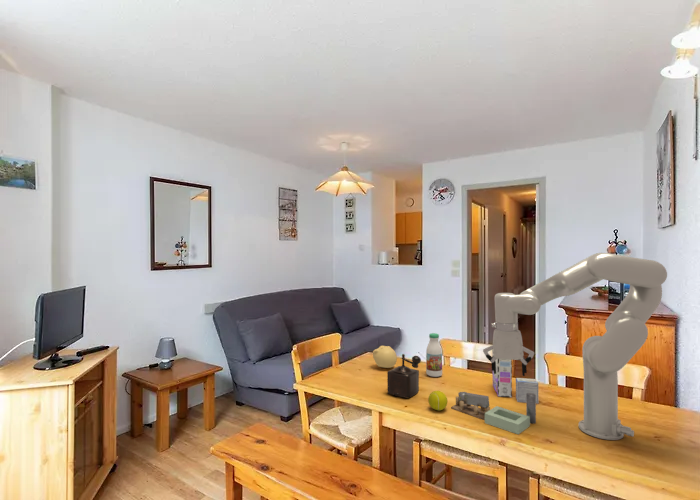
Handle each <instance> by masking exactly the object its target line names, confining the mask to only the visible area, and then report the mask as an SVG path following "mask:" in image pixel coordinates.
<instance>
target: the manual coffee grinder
mask: <svg viewBox="0 0 700 500" xmlns="http://www.w3.org/2000/svg"><path fill="white" fill-rule="evenodd" d="M401 359H402V360H401V361H402V362H401V365H399V366H396V367H394V368H392V369H390V370H388V371H387V372H386V373H387V377H386V378H387V392H386V393H387V394H389V395H393V396H395V397H401V398H407V399H409V398H412V397H413V396H415V395H417V394H418V393H419V391H420V389H419V388H420V387H419V385H420V375H419V374H420V371H419V369H418V368H419V364H421V362H422V359H421V357H420V356H418V355H413V356H412V357H411V360H409V359H407V358H406V355H405V353H402V354H401ZM405 362H407V363H408V364H411V366H412V368H411V367H408V366H406V365H405Z"/></svg>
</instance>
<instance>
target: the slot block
mask: <svg viewBox="0 0 700 500" xmlns="http://www.w3.org/2000/svg"><path fill="white" fill-rule="evenodd" d="M484 424H487V425H490V426H493V427H495V428H499V429H501V430H505V431H507V432H510V433H513V434H514V435H515V434H516V435H520V434H521V433H522V432H524V431H526V430H527V429H528V428H529V427H530V426H531V423H530V416H527V415H526V414H523V413H520V412H516V411H514V410H510V409H507V408H504V407H500V406H497V405H496V406H494V407H493V408H490V410H489V411H488V412H486V413H485V420H484Z"/></svg>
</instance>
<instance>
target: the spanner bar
mask: <svg viewBox="0 0 700 500" xmlns="http://www.w3.org/2000/svg"><path fill="white" fill-rule="evenodd" d="M457 393H458V397H459V403H460V401H464V404H469V405H472V406H474V405H476V406H478V407H479V408H481V407H485V408H487V407H490V398H489V395H483V394H476V393H471V392H466V391H459V392H457Z"/></svg>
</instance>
